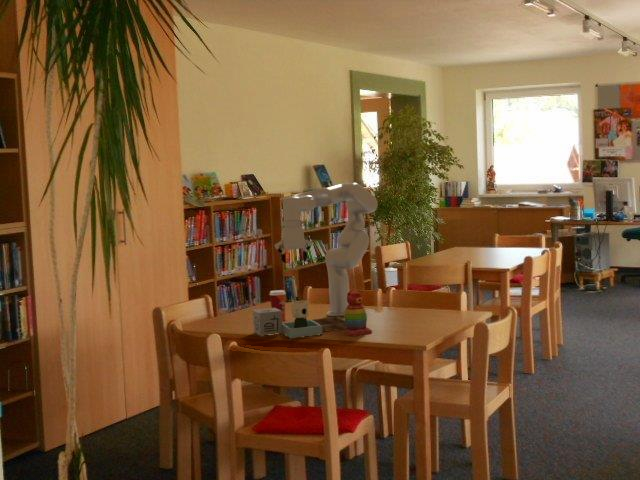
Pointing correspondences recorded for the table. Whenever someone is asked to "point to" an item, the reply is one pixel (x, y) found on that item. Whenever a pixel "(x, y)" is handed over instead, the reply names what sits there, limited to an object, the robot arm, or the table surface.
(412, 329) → the table surface
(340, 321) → the walnut corral
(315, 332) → the bin
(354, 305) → the stacking bear
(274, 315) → the icon cube
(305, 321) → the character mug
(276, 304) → the paper cup
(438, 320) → the table surface
